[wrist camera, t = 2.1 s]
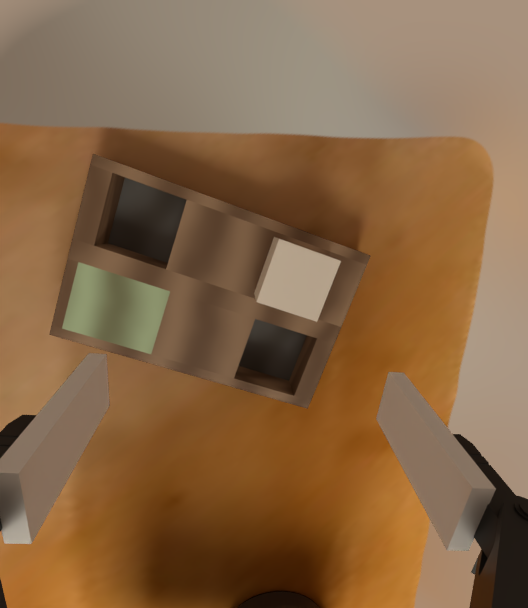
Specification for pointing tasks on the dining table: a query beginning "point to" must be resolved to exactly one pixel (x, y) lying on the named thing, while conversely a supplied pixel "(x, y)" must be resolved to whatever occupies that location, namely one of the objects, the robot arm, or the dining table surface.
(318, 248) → the board
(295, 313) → the block
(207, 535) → the dining table surface
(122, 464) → the dining table surface
